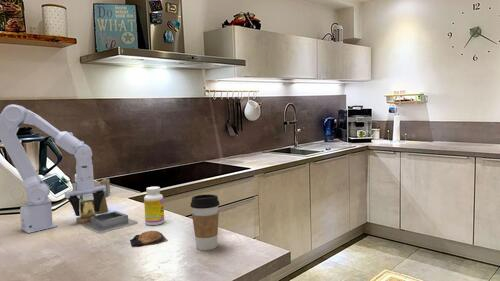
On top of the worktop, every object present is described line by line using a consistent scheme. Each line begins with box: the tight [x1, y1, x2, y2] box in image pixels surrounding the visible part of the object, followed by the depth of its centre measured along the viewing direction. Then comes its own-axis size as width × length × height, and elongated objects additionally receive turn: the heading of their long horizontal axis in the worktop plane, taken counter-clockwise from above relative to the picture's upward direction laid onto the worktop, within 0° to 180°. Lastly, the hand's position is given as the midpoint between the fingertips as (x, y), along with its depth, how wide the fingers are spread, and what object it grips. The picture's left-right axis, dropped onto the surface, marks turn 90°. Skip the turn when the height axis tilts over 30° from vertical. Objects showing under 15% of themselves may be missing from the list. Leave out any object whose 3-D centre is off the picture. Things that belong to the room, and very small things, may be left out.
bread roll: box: [129, 230, 169, 248], centre depth 113 cm, size 11×8×4 cm
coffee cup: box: [189, 193, 220, 251], centre depth 106 cm, size 8×8×15 cm
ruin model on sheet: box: [99, 177, 111, 198], centre depth 182 cm, size 11×3×10 cm, turn 13°
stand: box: [75, 214, 97, 225], centre depth 137 cm, size 6×6×2 cm
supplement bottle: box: [143, 186, 165, 226], centre depth 132 cm, size 7×7×13 cm
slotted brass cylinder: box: [79, 200, 96, 219], centre depth 137 cm, size 5×5×6 cm
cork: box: [93, 184, 109, 215], centre depth 150 cm, size 6×6×11 cm
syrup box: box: [74, 173, 94, 209], centre depth 159 cm, size 6×6×14 cm
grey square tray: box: [81, 210, 139, 234], centre depth 132 cm, size 14×14×3 cm
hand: (87, 213), depth 137 cm, fingers open, 7 cm apart
